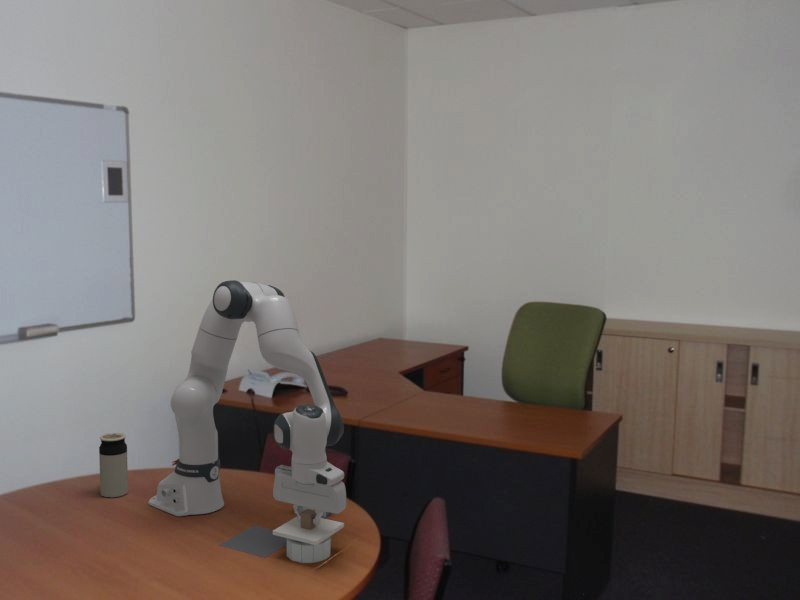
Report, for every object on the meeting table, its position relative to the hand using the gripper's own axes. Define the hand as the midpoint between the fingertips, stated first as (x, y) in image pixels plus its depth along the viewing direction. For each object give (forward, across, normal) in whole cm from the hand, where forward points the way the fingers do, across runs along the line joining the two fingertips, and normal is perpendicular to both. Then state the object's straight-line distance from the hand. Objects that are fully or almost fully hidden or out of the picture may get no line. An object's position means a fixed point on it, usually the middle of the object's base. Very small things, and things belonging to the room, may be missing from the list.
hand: (308, 522), depth 211 cm
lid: (+2, 0, 0) cm, 2 cm away
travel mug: (+9, -75, +7) cm, 76 cm away
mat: (+9, -15, 0) cm, 18 cm away
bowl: (+9, 0, 0) cm, 9 cm away
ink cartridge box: (+9, -14, +24) cm, 29 cm away
